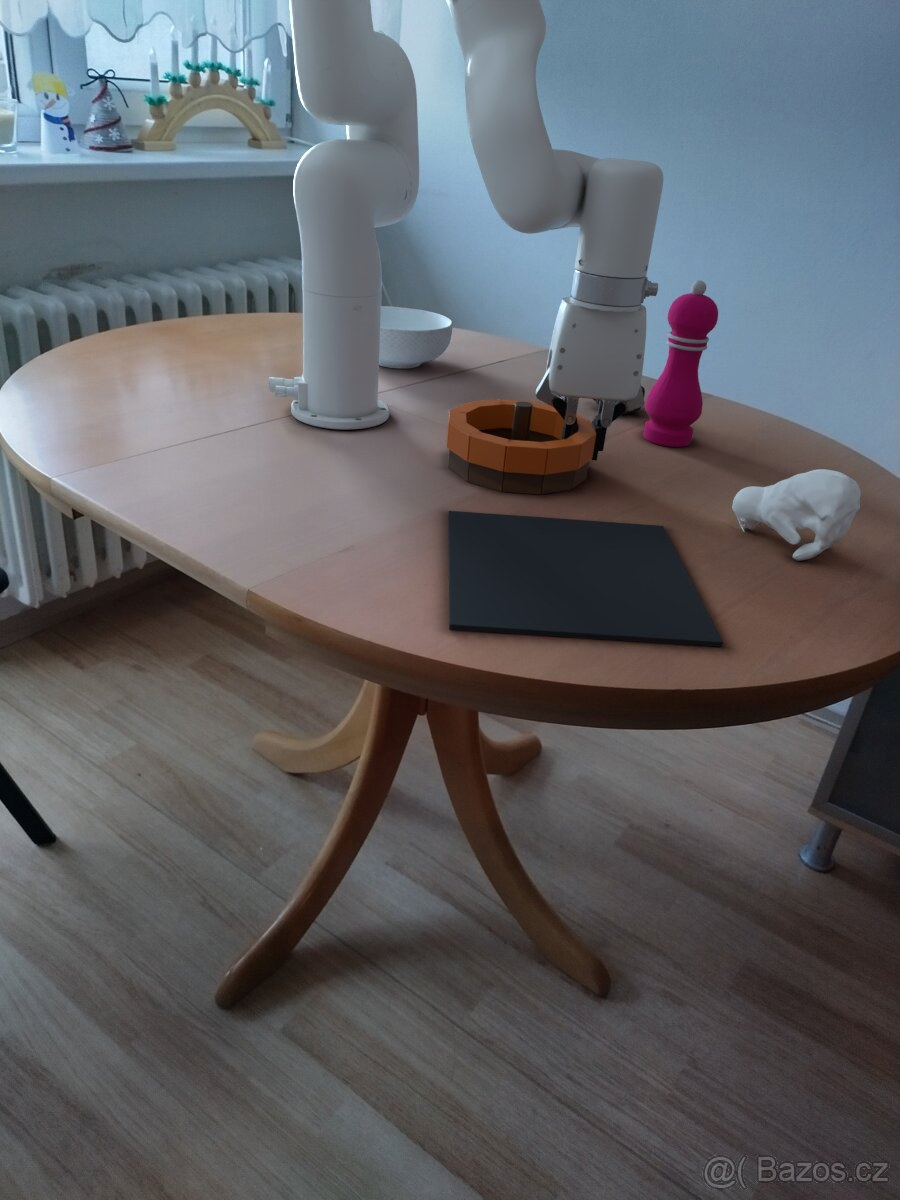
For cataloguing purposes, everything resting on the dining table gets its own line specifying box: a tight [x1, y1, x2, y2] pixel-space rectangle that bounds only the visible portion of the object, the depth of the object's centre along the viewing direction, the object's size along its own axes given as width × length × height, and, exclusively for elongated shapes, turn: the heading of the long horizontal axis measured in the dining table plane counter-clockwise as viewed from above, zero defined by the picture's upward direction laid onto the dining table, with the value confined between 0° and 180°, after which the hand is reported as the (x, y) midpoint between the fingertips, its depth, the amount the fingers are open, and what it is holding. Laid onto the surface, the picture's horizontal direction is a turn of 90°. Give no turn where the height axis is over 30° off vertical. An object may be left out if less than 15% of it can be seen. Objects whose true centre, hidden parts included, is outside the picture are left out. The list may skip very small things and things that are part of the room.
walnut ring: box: [447, 428, 590, 495], centre depth 100 cm, size 16×16×2 cm
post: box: [511, 400, 533, 441], centre depth 99 cm, size 8×8×8 cm
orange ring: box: [446, 398, 596, 475], centre depth 99 cm, size 17×17×3 cm
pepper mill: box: [642, 279, 719, 448], centre depth 109 cm, size 7×7×20 cm
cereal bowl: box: [379, 305, 454, 370], centre depth 135 cm, size 17×17×7 cm
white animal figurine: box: [731, 468, 862, 561], centre depth 86 cm, size 6×8×12 cm
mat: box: [447, 510, 724, 648], centre depth 78 cm, size 22×22×1 cm
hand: (580, 454), depth 100 cm, fingers closed on orange ring, 2 cm apart
